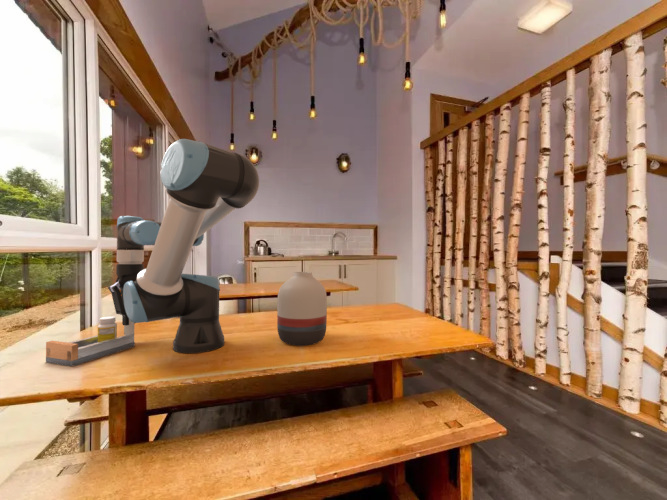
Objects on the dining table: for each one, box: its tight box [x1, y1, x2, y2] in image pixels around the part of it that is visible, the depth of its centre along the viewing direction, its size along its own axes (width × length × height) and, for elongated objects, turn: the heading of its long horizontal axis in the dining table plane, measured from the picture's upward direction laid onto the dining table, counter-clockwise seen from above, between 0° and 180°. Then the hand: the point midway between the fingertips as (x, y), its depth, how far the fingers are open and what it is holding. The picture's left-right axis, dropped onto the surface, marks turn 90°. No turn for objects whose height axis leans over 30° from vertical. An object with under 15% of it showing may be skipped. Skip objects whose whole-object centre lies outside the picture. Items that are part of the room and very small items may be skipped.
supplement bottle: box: [97, 316, 118, 342], centre depth 93 cm, size 5×5×8 cm
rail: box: [45, 333, 136, 367], centre depth 90 cm, size 10×18×6 cm, turn 163°
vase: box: [276, 271, 328, 347], centre depth 105 cm, size 17×17×24 cm
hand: (129, 334), depth 100 cm, fingers closed
